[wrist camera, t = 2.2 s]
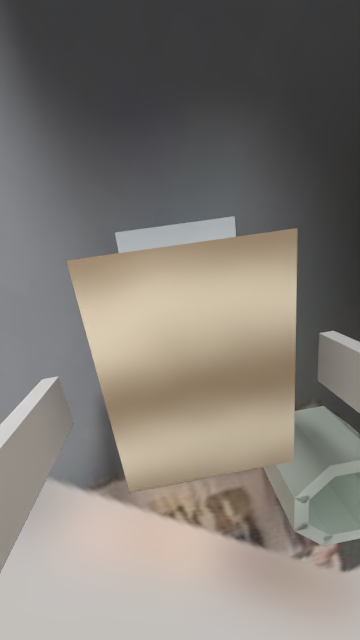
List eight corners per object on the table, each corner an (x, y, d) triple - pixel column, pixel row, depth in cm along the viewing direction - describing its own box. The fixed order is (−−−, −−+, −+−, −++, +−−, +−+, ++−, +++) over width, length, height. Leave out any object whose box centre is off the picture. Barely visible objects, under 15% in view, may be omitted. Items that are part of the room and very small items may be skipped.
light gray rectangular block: (123, 236, 14) (114, 232, 11) (219, 222, 14) (234, 216, 12) (159, 422, 18) (160, 454, 16) (233, 409, 19) (247, 438, 16)
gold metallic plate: (89, 257, 12) (66, 260, 9) (264, 233, 12) (297, 228, 9) (134, 446, 15) (129, 492, 12) (268, 422, 16) (293, 461, 13)
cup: (260, 416, 19) (294, 472, 14) (349, 401, 19) (410, 449, 15) (263, 485, 21) (293, 552, 17) (342, 469, 22) (394, 531, 17)
